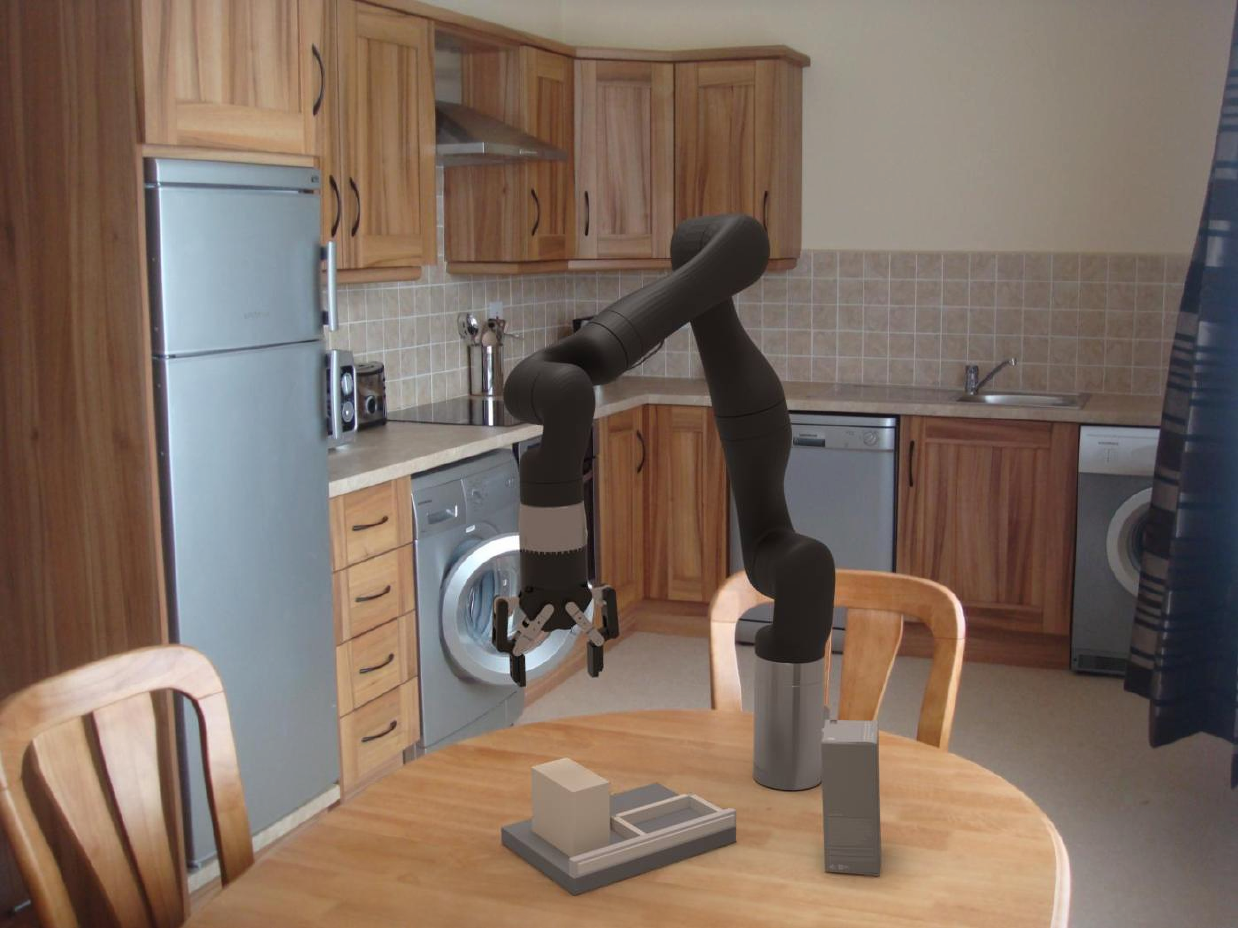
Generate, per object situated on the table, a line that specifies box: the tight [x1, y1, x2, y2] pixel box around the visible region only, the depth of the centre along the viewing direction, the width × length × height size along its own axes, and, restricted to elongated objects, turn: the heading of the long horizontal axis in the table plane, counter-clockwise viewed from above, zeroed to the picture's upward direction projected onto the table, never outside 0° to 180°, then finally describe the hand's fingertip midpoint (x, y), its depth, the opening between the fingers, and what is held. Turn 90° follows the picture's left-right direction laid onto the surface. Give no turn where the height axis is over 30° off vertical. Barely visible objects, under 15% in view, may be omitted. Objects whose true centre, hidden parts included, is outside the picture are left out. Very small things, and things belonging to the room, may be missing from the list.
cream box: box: [530, 757, 611, 858], centre depth 158 cm, size 9×5×8 cm, turn 35°
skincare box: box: [821, 719, 882, 877], centre depth 157 cm, size 8×7×16 cm
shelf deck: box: [500, 781, 737, 897], centre depth 162 cm, size 23×16×4 cm
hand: (557, 680), depth 154 cm, fingers open, 8 cm apart
